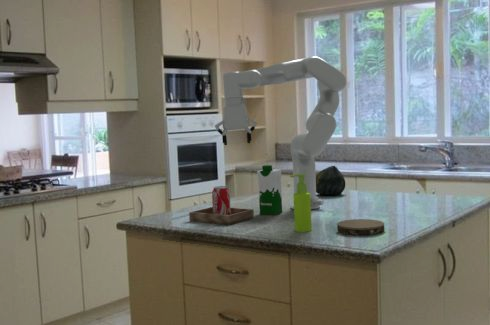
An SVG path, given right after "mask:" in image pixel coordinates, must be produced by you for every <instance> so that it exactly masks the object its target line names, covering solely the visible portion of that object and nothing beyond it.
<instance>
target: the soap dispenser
mask: <svg viewBox="0 0 490 325" xmlns="http://www.w3.org/2000/svg"><path fill="white" fill-rule="evenodd" d="M296 176H299V183H298V184H297V193H294V192H293V204H294V209H293V216H294V218H293V219H294V232H299V233H307V232H311V231H312V211H311V210H312V209H311V201H310V193H308V192H307V188H306V183H304V176H306V175H305V174H294V175H293V174H291V175H289V177H290V178H293V177H296Z"/></svg>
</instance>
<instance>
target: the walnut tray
mask: <svg viewBox="0 0 490 325" xmlns="http://www.w3.org/2000/svg"><path fill="white" fill-rule="evenodd" d="M230 209H231V212H230V215H218V214H213V206H210V207H205V208H201V209H198V210H192V211H190V212H189V213H188V216H189V218H188V219H189V222H197V223H205V224H213V223H214V224H215V225H223V226H231V225H235V224H238V223H241V222H245V221H248V220H252V219H255V216H254V214H255V212H254V209H252V208H242V207H231V206H230Z"/></svg>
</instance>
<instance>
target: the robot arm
mask: <svg viewBox="0 0 490 325" xmlns="http://www.w3.org/2000/svg"><path fill="white" fill-rule="evenodd" d="M312 78H314V79H316V80H317V87H318V88H317V89H318V90H319V98H318V99H319V100H318V101H317V104H316V106H315V107H314V108H313V110H312V112H311V114H310V115H309V117H308V118H307V120H306V122H305V128H306V131H307V133H299V134H296V135H295V136H294V137H293V138H292V140H291V142H290V153H291V158H292V160H291V161H292V175H294V174H305V175H306V176H304V183H306V188H307V192H308V193H310V201H311V210H317V209H319V208H321V206H323V205H324V204H325V201H324V200H323V199H319V196H317V192H316V175H317V174H316V163H315V162H316V161H315V158H317V157H318V156H320V154H322V153H323V151H324V150H325V148H326V146H327V144H328V143H329V141H330V140H331V139H332V136H333V135H334V133H335V131H336V128H337V122H336V118H335V117H334V115H335V114H336V112H337V110H338V108H339V105H340V96H339V92H341V91H342V90H344V89H345V88H346V85H347V77H346V76H345V74H344V73H343V72H342V71H341V70H339V69H337V68H336V67H334V66H333V65H331V64H330V63H328V62H327V61H326V60H324V59H322V58H321V57H318V56H309V57H306V58H301V59H300V58H299V59H294V60H289V61H283V62H279V63H274V64H272V65H269V66H266V67H262V68H256V69H250V70H245V71H226V72H224V73H223V75H222V80H223V82H222V84H223V95H224V106H222V120H221V121H220V122H217V123H216V124H215V125H214V128H215V129H216V131H217V132H218V133H219V134H220V135H221V137H222V144H223V145H225V146H227V145H228V142H227V141H228V140H227V138H228V137H227V132H229V131H239V130H245V131H246V142H247V143H248V144H251V142H252V133H253V131H254V130H255V129H256V126H257V124H258V123H257V121H254V120H252V119H250V118H248V112H247V107H246V104H244V103H245V102H246V103H247V102H248V101H247V100H248V99H247V98H244V95H243V91H244V90H251V89H256V88H259V87H265V86H271V85H282V84H287V83H292V82H296V81H301V80H306V79H312ZM249 123H251V124H252V125H251V127H250V128H249ZM220 126H222V128H223V130H222V129H221V128H220ZM292 178H293V179H292V180H293V194H294V193H297V184H298V183H299V176H296V177H292ZM290 209H293V210H294V203H292V204H291V205H290Z"/></svg>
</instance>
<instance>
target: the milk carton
mask: <svg viewBox="0 0 490 325" xmlns="http://www.w3.org/2000/svg"><path fill="white" fill-rule="evenodd" d="M261 168H262V169H260V170H257V171H256V174H257V180H258V201H259V202H258V204H259V215H266V216H267V215H269V216H276V215H279V214H280V213H283V202H282V201H283V200H282V198H283V197H282V169H280V168H279V169H278V168H275V169H273V165H272V164H271V165H270V164H267V165H265V164H264V165H262V166H261Z"/></svg>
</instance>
